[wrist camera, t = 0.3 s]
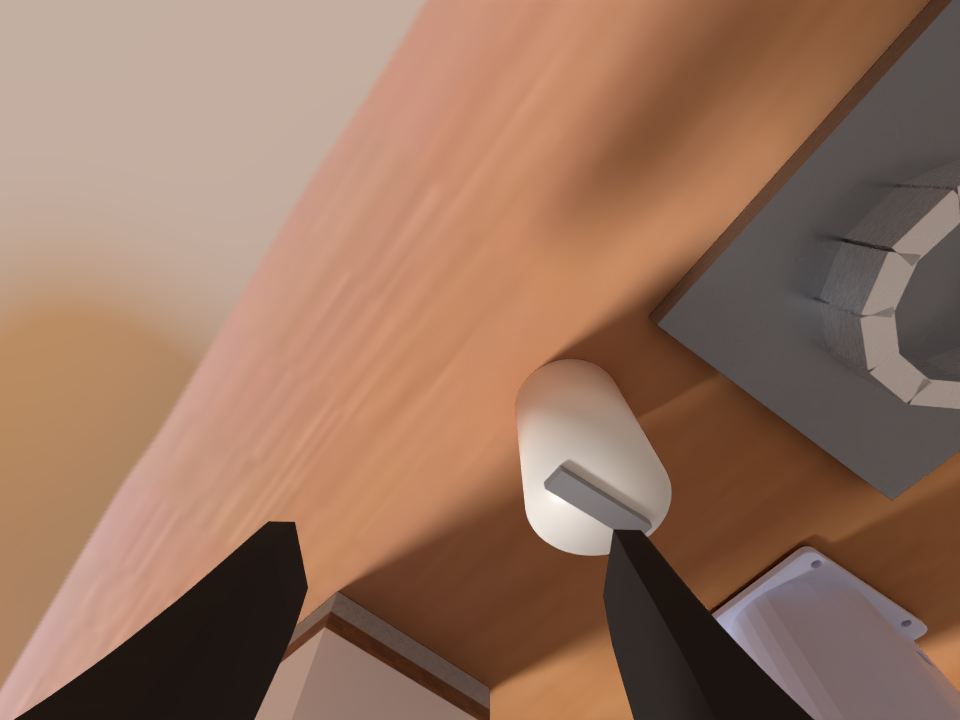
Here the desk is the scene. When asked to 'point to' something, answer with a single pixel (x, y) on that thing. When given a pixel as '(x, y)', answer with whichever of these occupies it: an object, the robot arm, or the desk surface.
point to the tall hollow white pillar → (366, 673)
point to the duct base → (852, 272)
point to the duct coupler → (585, 460)
